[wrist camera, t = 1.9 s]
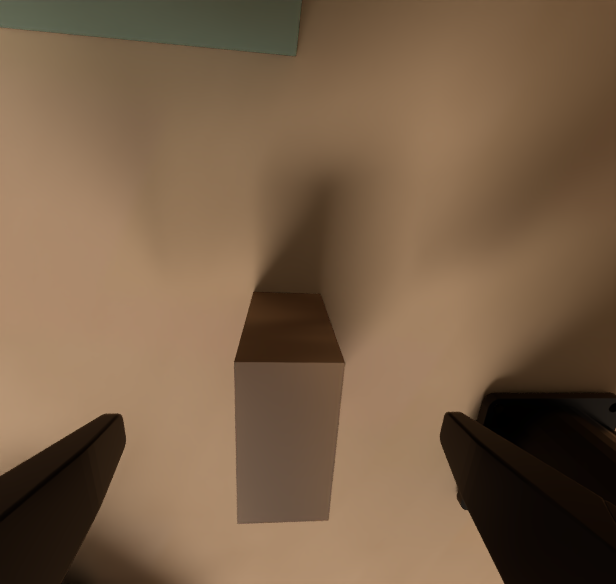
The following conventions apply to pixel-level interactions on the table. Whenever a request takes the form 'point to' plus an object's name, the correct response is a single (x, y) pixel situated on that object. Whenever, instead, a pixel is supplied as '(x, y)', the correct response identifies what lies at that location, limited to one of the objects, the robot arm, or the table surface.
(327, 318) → the rectangular block
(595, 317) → the table surface
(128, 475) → the table surface
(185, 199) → the table surface
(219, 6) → the box
